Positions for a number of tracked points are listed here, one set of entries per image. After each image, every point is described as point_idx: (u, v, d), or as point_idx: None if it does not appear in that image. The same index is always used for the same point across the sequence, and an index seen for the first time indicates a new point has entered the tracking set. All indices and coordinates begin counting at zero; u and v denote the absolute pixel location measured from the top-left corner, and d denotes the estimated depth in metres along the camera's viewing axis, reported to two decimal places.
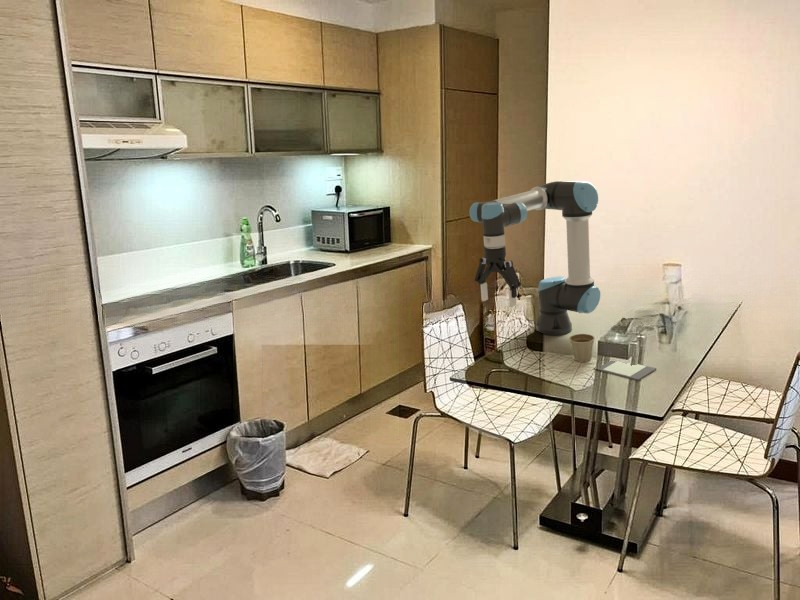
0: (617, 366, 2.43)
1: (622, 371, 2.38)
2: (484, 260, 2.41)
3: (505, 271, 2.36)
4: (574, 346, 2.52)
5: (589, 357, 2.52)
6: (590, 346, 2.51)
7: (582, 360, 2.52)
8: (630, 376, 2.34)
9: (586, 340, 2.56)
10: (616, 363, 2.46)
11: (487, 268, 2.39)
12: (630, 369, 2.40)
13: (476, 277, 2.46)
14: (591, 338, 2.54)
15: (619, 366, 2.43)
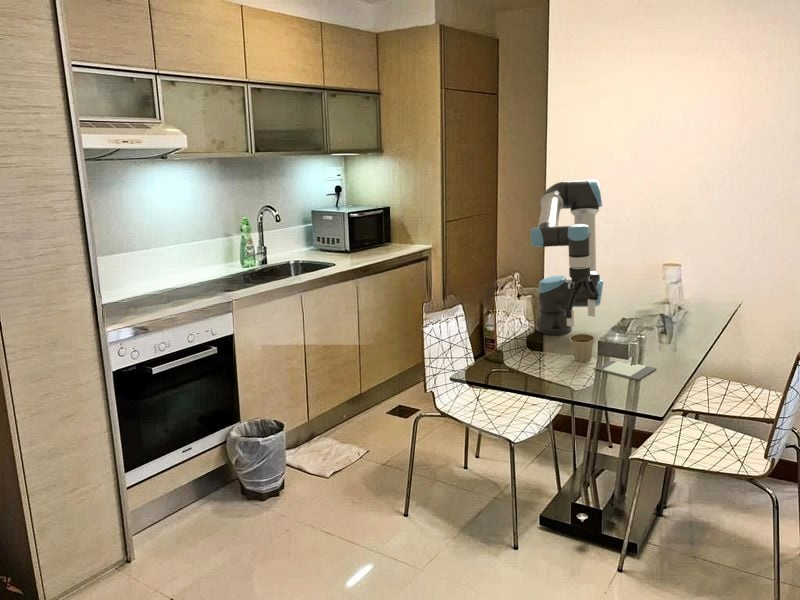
0: (617, 366, 2.43)
1: (622, 371, 2.38)
2: None
3: (574, 292, 2.44)
4: (574, 346, 2.52)
5: (589, 357, 2.52)
6: (590, 346, 2.51)
7: (582, 360, 2.52)
8: (630, 376, 2.34)
9: (586, 340, 2.56)
10: (616, 363, 2.46)
11: None
12: (630, 369, 2.40)
13: None
14: (591, 338, 2.54)
15: (619, 366, 2.43)
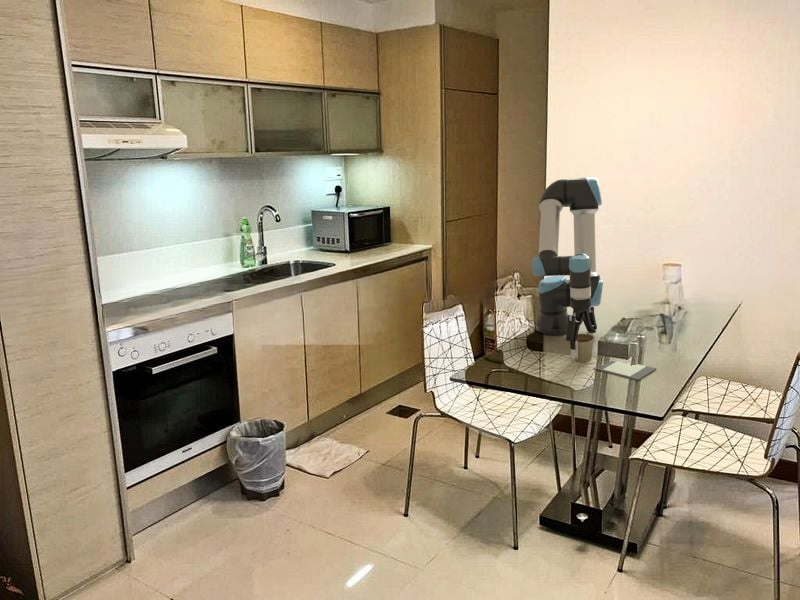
0: (617, 366, 2.43)
1: (622, 371, 2.38)
2: None
3: (576, 323, 2.48)
4: None
5: (589, 357, 2.52)
6: (590, 346, 2.51)
7: (582, 360, 2.52)
8: (630, 376, 2.34)
9: (586, 340, 2.56)
10: (616, 363, 2.46)
11: None
12: (630, 369, 2.40)
13: None
14: (591, 338, 2.54)
15: (619, 366, 2.43)
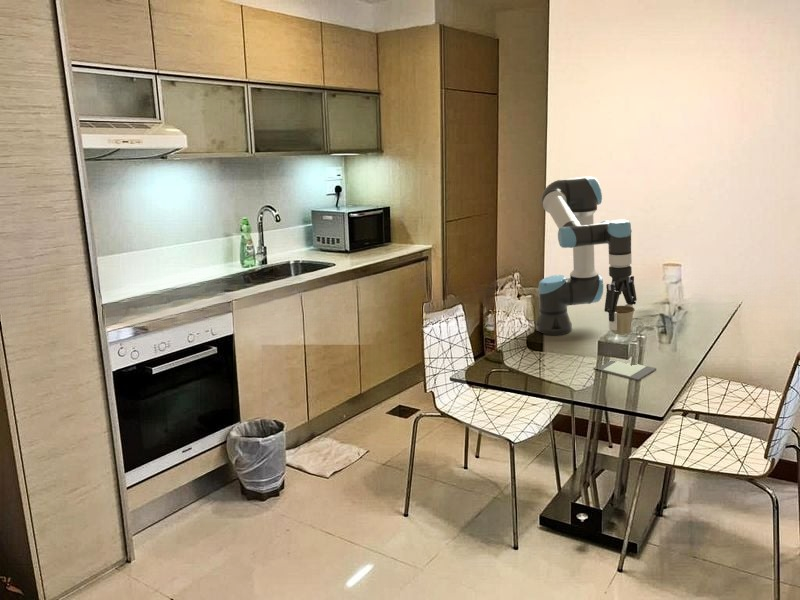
0: (617, 366, 2.43)
1: (622, 371, 2.38)
2: None
3: (615, 293, 2.32)
4: None
5: (629, 330, 2.35)
6: (630, 318, 2.34)
7: (621, 333, 2.35)
8: (630, 376, 2.34)
9: (625, 312, 2.39)
10: (616, 363, 2.46)
11: None
12: (630, 369, 2.40)
13: None
14: (630, 310, 2.37)
15: (619, 366, 2.43)
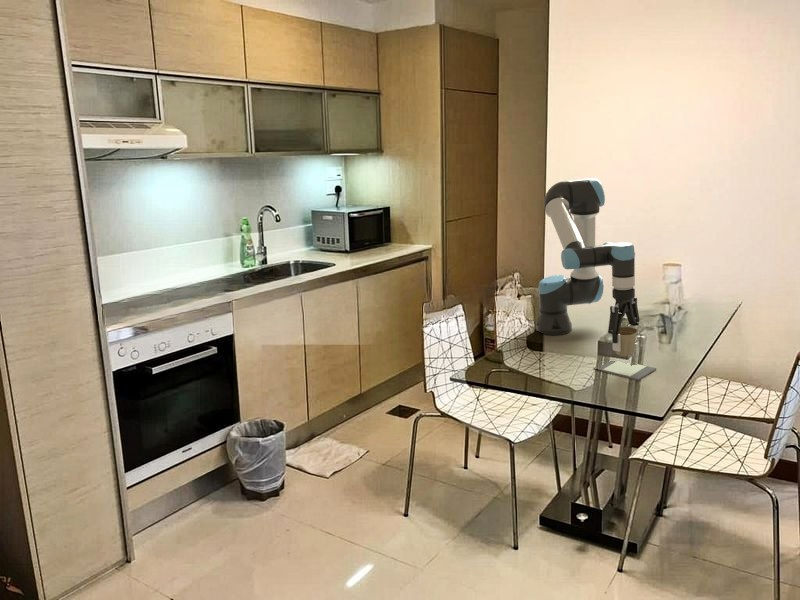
0: (617, 366, 2.43)
1: (622, 371, 2.38)
2: None
3: (618, 315, 2.33)
4: None
5: (632, 351, 2.37)
6: (633, 339, 2.35)
7: (624, 354, 2.37)
8: (630, 376, 2.34)
9: (628, 333, 2.41)
10: (616, 363, 2.46)
11: None
12: (630, 369, 2.40)
13: None
14: (634, 331, 2.39)
15: (619, 366, 2.43)
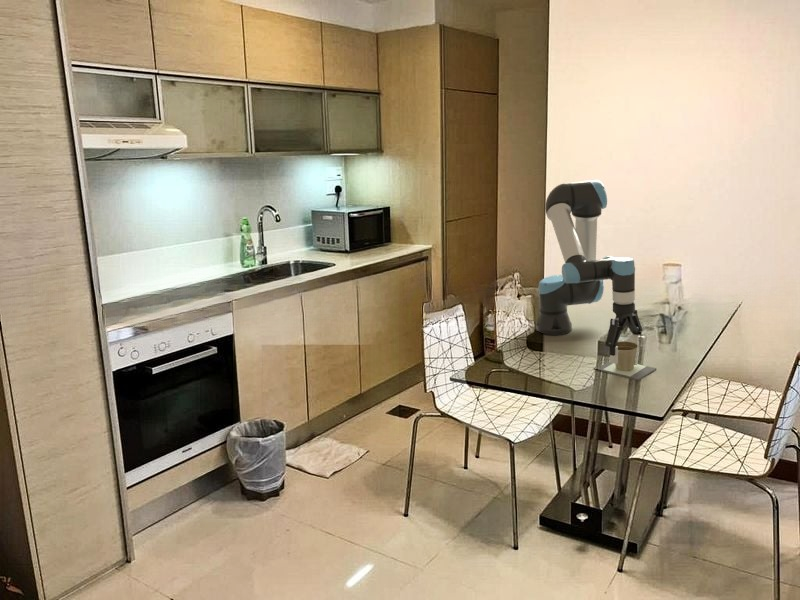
0: None
1: (622, 371, 2.38)
2: None
3: (618, 328, 2.34)
4: None
5: (632, 366, 2.39)
6: (633, 354, 2.37)
7: (624, 369, 2.38)
8: (630, 376, 2.34)
9: (628, 348, 2.43)
10: None
11: None
12: None
13: None
14: (634, 346, 2.41)
15: None
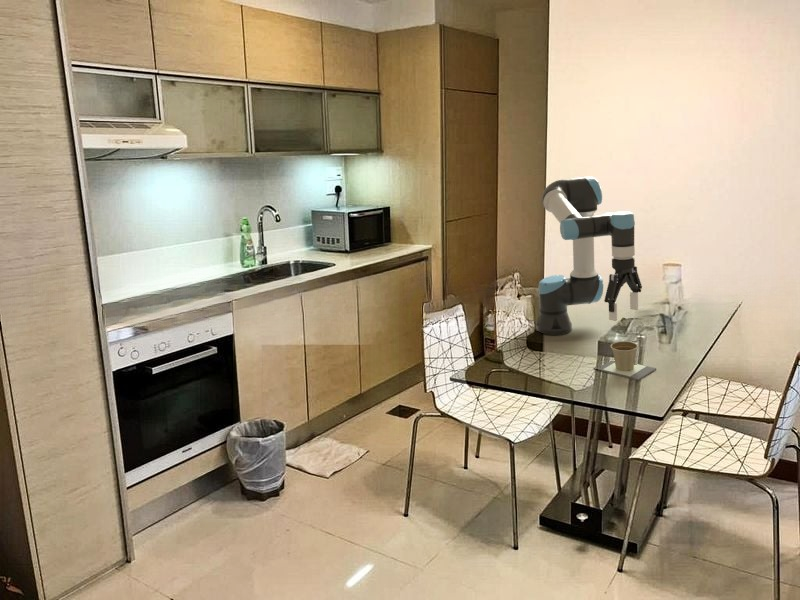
0: None
1: (622, 371, 2.38)
2: None
3: (617, 284, 2.30)
4: (616, 354, 2.38)
5: (632, 366, 2.39)
6: (633, 354, 2.37)
7: (624, 369, 2.38)
8: (630, 376, 2.34)
9: (628, 348, 2.43)
10: None
11: None
12: None
13: None
14: (634, 346, 2.41)
15: None
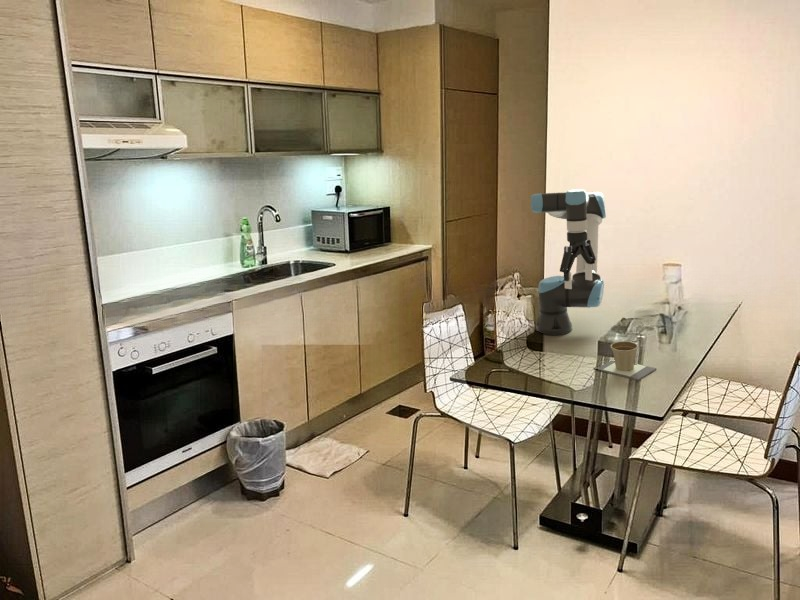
0: None
1: (622, 371, 2.38)
2: None
3: (571, 255, 2.52)
4: (616, 354, 2.38)
5: (632, 366, 2.39)
6: (633, 354, 2.37)
7: (624, 369, 2.38)
8: (630, 376, 2.34)
9: (628, 348, 2.43)
10: None
11: None
12: None
13: None
14: (634, 346, 2.41)
15: None
